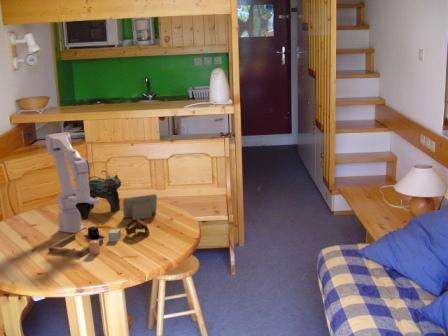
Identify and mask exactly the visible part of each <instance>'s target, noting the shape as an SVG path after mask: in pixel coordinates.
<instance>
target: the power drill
mask: <svg viewBox="0 0 448 336" xmlns="http://www.w3.org/2000/svg"><path fill="white" fill-rule="evenodd" d="M103 172H105V174H106V175H107V177H105V178H101V177H99V176H95V175H94V176H90V177H88V179H89V180H90V181H89V189H90V197H92V198H95V199H97V198H99V199H105V200H107V202H108V204H109V208H110V211H111V212H118V211H120V210H121V207H120V202H121V201H120V197H119V191H118V189H120V188H121V186H122V180H121V179H120V178H119V176H118V174H115V175H114V176H111V175H108V173H107V171H106V170H102V171H101V172H100V174H102V173H103ZM93 178H94V179H93ZM94 208H95V204H92V206H91V208H90V210H91V209H94Z"/></svg>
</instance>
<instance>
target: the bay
mask: <svg viewBox="0 0 448 336" xmlns="http://www.w3.org/2000/svg"><path fill="white" fill-rule="evenodd" d="M74 240H76V234H75V233H71V234H70V235H68V236H66V237H64V238H62V239H61V240H59V241H57V242H56V243H53V244H52V245H50V246H48V251H49V253H53V254H60V255H65V256H66V255H67V256H71V257H72V256H73V257H76V258H77V257H78V258H82V257H84V256H86V255H87V254H90V250H89V244H87V246H85V247H84V248H82V249H80V250H79V249H72V248H67V247H66V248H65V247H64V246H66V245H68V244H70V243H71V242H72V241H74ZM98 241H99V247H100V246H101V245H103V244H104V238H103V239H101V238H100V239H98Z"/></svg>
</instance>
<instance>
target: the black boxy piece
mask: <svg viewBox="0 0 448 336" xmlns="http://www.w3.org/2000/svg"><path fill="white" fill-rule="evenodd" d="M83 237H84V238H86V239H88V240H90V241H92V240H98V239H100V238H101V239H103V240H104V239H105V238H106V236H104V235H100V230H99V228H98V227H97V226H89V227H87V234H84V235H83Z"/></svg>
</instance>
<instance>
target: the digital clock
mask: <svg viewBox="0 0 448 336" xmlns="http://www.w3.org/2000/svg"><path fill="white" fill-rule="evenodd" d="M122 201H123V202H122V203H123V204H122V205H123V208H122V209H123V214H122V215H123V217H124V218H130V217H131V218H132V220H133V219H138V218H143V219H144V220H145V219H149V218H150V219H151V218H152V217H153V215H152V214H155V213H157V209H158V208H157V203H158V202H157V201H158V196H157V194H156V193H149V194H143V195H136V196H135V195H134V196H127V197H124V198H123V199H122Z"/></svg>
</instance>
